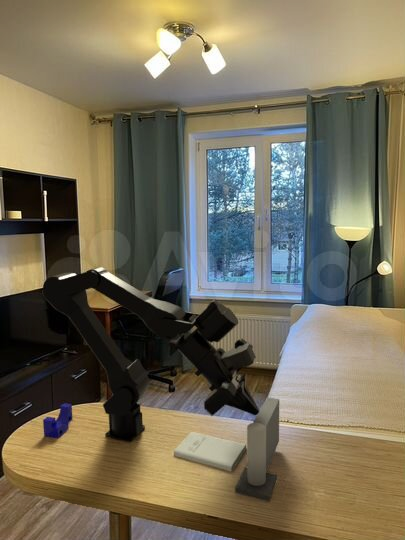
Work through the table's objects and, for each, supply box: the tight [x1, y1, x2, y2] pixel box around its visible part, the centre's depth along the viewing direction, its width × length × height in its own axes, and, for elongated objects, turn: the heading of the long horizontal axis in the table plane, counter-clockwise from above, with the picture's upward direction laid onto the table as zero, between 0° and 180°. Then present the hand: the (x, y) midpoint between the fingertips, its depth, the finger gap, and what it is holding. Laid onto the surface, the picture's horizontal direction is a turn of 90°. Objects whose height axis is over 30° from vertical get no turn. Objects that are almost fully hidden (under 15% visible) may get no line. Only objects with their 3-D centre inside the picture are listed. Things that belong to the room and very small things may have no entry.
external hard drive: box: [173, 431, 247, 472], centre depth 82 cm, size 2×8×12 cm
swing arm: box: [246, 397, 280, 486], centre depth 76 cm, size 3×15×10 cm, turn 158°
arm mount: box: [234, 466, 278, 502], centre depth 72 cm, size 6×6×1 cm
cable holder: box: [42, 402, 74, 439], centre depth 92 cm, size 8×4×4 cm, turn 166°
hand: (257, 413), depth 82 cm, fingers closed
